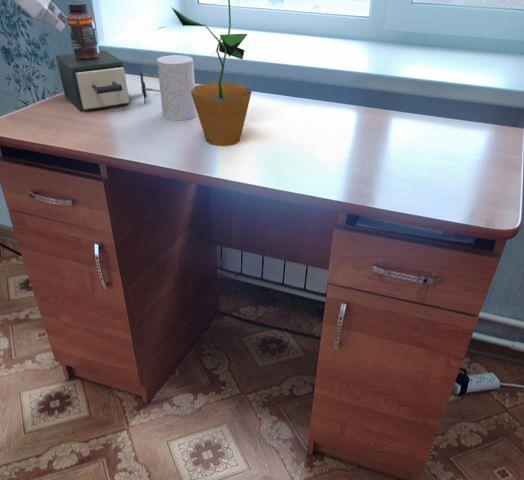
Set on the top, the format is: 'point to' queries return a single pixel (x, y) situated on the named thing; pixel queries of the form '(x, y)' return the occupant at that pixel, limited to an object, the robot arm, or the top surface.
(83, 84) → the drawer
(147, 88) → the sunglasses
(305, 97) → the top surface
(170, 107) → the cup
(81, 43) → the supplement bottle
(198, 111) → the potted plant
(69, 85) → the cabinet
